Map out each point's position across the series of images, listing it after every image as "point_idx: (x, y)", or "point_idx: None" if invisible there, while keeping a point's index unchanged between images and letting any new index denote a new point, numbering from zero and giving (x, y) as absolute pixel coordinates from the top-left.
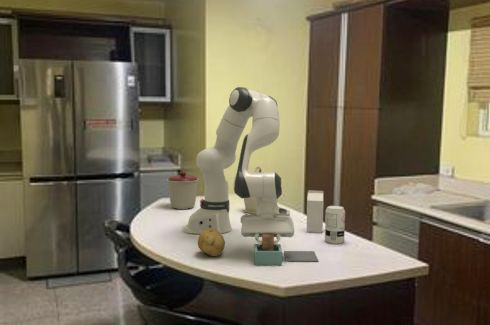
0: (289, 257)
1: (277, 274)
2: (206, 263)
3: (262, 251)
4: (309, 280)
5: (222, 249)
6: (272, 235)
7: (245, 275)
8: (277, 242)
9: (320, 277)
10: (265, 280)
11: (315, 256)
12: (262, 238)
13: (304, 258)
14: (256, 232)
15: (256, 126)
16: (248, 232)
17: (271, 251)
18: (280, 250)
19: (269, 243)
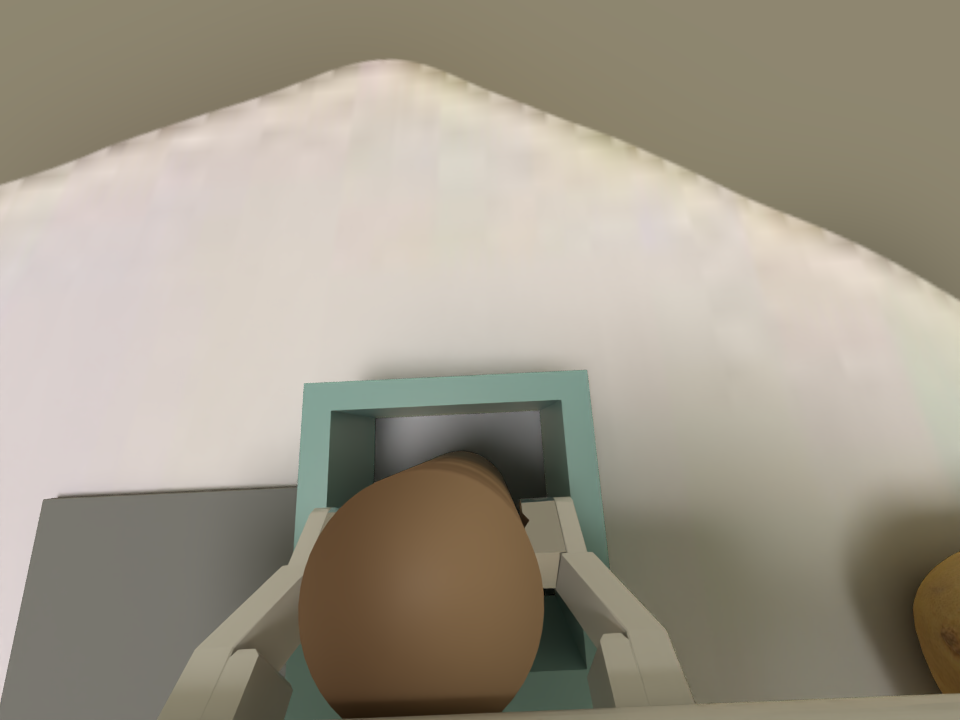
0: (266, 575)
1: (402, 219)
2: (929, 397)
3: (507, 382)
4: (227, 145)
5: (948, 594)
6: (335, 550)
7: (599, 189)
8: (305, 532)
9: (150, 192)
10: (476, 126)
11: (26, 625)
12: (524, 528)
13: (142, 555)
14: (684, 709)
15: None
16: (871, 700)
17: (413, 389)
18: (315, 432)
19: (420, 464)
